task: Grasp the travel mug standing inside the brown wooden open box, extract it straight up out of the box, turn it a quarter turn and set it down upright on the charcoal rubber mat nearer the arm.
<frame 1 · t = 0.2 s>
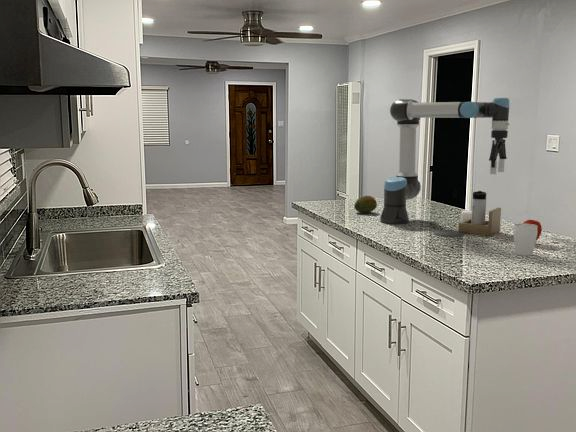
hand: (497, 173, 287), 28 cm above the counter, fingers open, 13 cm apart
brown wooden open box: (477, 232, 281), on the counter
travel mug: (477, 233, 281), resting in brown wooden open box
mug: (470, 225, 299), on the counter
cup: (523, 254, 236), on the counter
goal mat: (449, 233, 278), on the counter
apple: (530, 243, 256), on the counter
fruit: (365, 213, 340), on the counter
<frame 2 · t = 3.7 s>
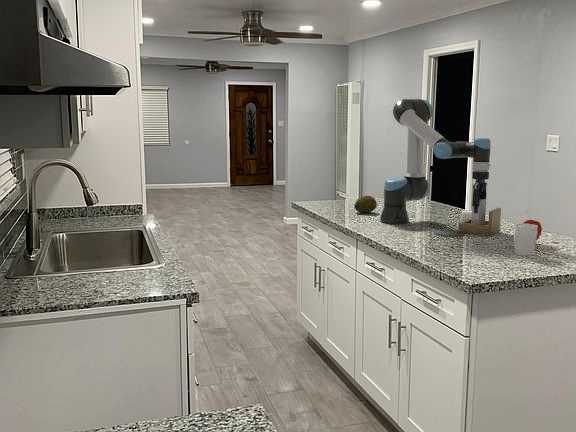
hand: (478, 218, 279), 7 cm above the counter, fingers closed on travel mug, 6 cm apart
travel mug: (477, 232, 281), resting in brown wooden open box, touching gripper
everything else where it was.
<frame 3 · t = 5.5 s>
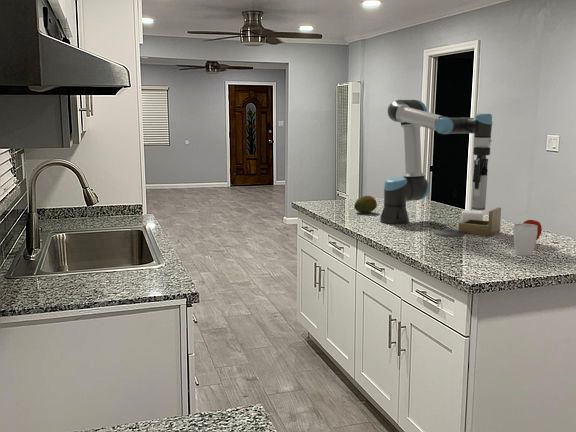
hand: (479, 194, 278), 18 cm above the counter, fingers closed on travel mug, 6 cm apart
travel mug: (478, 209, 279), point 11 cm above the counter, touching gripper
everything else where it was.
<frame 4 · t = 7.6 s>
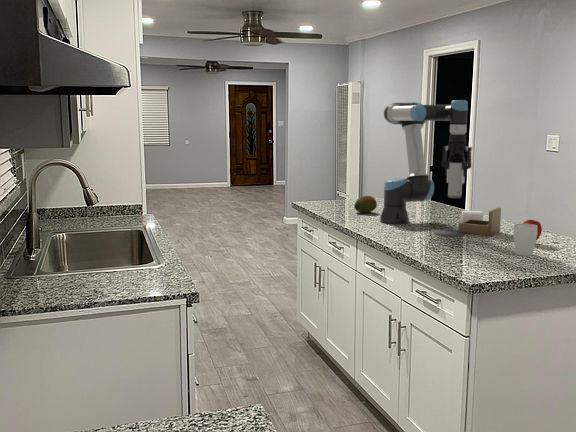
hand: (455, 182, 274), 25 cm above the counter, fingers closed on travel mug, 6 cm apart
travel mug: (454, 197, 275), point 17 cm above the counter, touching gripper
everything else where it was.
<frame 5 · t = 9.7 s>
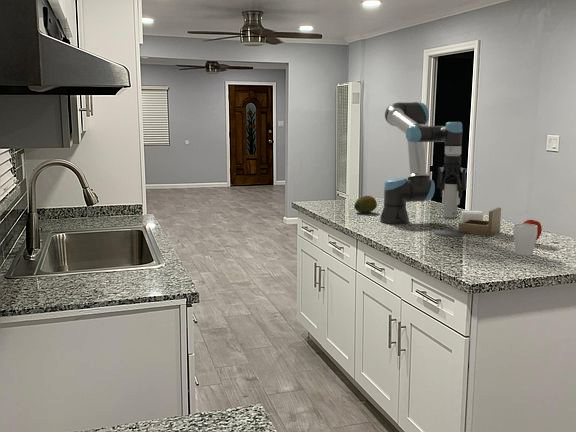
hand: (450, 203, 275), 15 cm above the counter, fingers closed on travel mug, 6 cm apart
travel mug: (450, 218, 276), point 7 cm above the counter, touching gripper
everything else where it was.
when the fingers open (9 cm above the counter, at t = 11.6 s): travel mug drops 1 cm, resting on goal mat.
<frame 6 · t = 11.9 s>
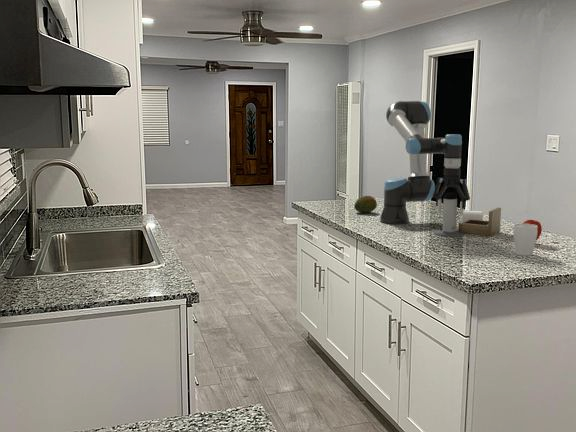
hand: (450, 213, 276), 10 cm above the counter, fingers open, 10 cm apart
travel mug: (449, 233, 277), resting on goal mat
everything else where it was.
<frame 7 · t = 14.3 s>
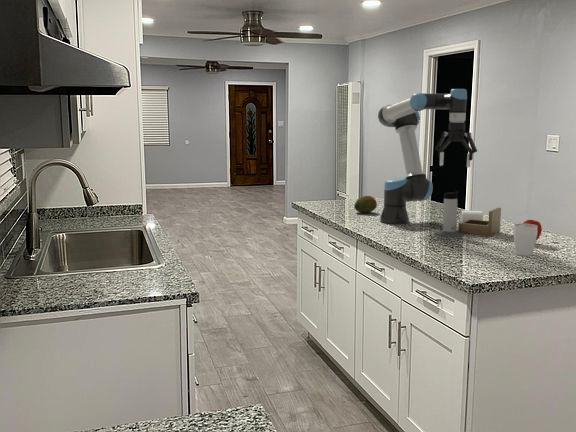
hand: (454, 166, 280), 32 cm above the counter, fingers open, 13 cm apart
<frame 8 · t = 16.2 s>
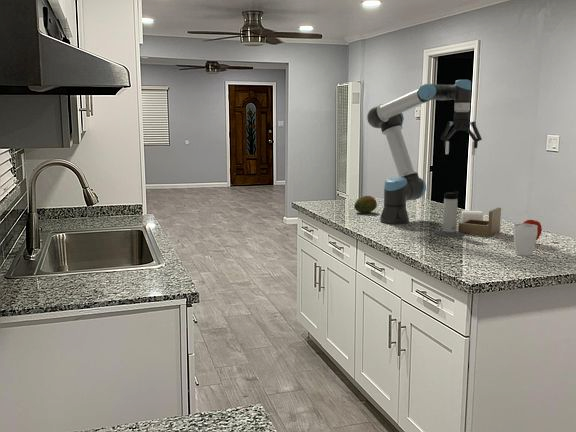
hand: (460, 154, 290), 37 cm above the counter, fingers open, 13 cm apart
nothing on the counter moved.
at the end: travel mug inside the target area on the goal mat (0.1 cm from its centre), point 0.3 cm above the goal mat's base; travel mug tilted 0°; the gripper is holding nothing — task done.
